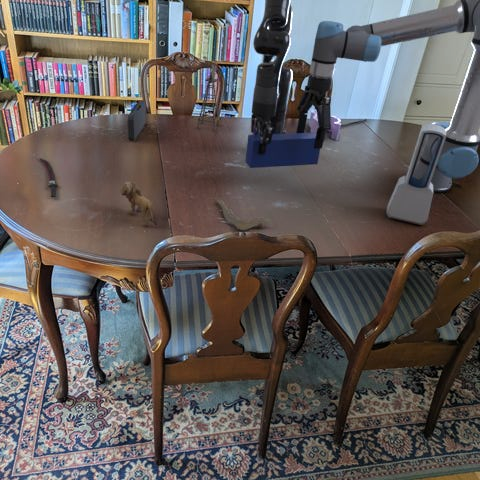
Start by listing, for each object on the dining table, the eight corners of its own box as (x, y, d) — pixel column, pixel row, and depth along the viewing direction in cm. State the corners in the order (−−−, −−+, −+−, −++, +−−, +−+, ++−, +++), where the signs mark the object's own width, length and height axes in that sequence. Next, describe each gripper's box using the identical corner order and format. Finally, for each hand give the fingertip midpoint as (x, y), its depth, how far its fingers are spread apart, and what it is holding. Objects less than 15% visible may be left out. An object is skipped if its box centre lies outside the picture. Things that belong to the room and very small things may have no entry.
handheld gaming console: (139, 121, 202) (139, 98, 197) (146, 122, 202) (145, 99, 197) (127, 140, 183) (126, 115, 178) (134, 141, 183) (133, 116, 178)
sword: (61, 197, 141) (61, 193, 140) (50, 198, 139) (50, 194, 139) (49, 160, 164) (48, 156, 163) (39, 160, 163) (39, 157, 162)
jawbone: (250, 238, 132) (250, 232, 131) (198, 212, 143) (198, 206, 141) (269, 225, 138) (269, 219, 137) (218, 201, 148) (218, 195, 147)
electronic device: (425, 217, 152) (456, 128, 136) (425, 227, 146) (458, 136, 130) (386, 208, 155) (413, 120, 139) (385, 218, 149) (412, 127, 133)
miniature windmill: (214, 131, 201) (219, 58, 184) (195, 128, 202) (199, 55, 185) (219, 124, 208) (224, 54, 192) (201, 122, 209) (205, 51, 193)
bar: (250, 168, 153) (253, 140, 148) (245, 161, 157) (248, 134, 152) (317, 164, 161) (322, 138, 156) (310, 158, 165) (315, 132, 159)
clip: (302, 123, 220) (305, 109, 217) (327, 124, 223) (330, 110, 219) (316, 139, 204) (319, 124, 200) (342, 140, 207) (346, 124, 203)
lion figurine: (118, 210, 138) (116, 182, 133) (132, 204, 141) (131, 177, 137) (151, 229, 130) (150, 201, 126) (165, 223, 134) (165, 195, 129)
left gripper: (285, 106, 140) (277, 159, 149) (267, 92, 151) (261, 142, 160) (262, 106, 137) (255, 160, 146) (246, 92, 148) (241, 143, 158)
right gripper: (351, 87, 137) (336, 154, 149) (314, 66, 157) (303, 127, 168) (329, 87, 135) (315, 155, 146) (293, 65, 154) (284, 127, 166)
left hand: (258, 150), depth 153 cm, fingers closed on bar, 5 cm apart
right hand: (308, 140), depth 157 cm, fingers open, 13 cm apart
